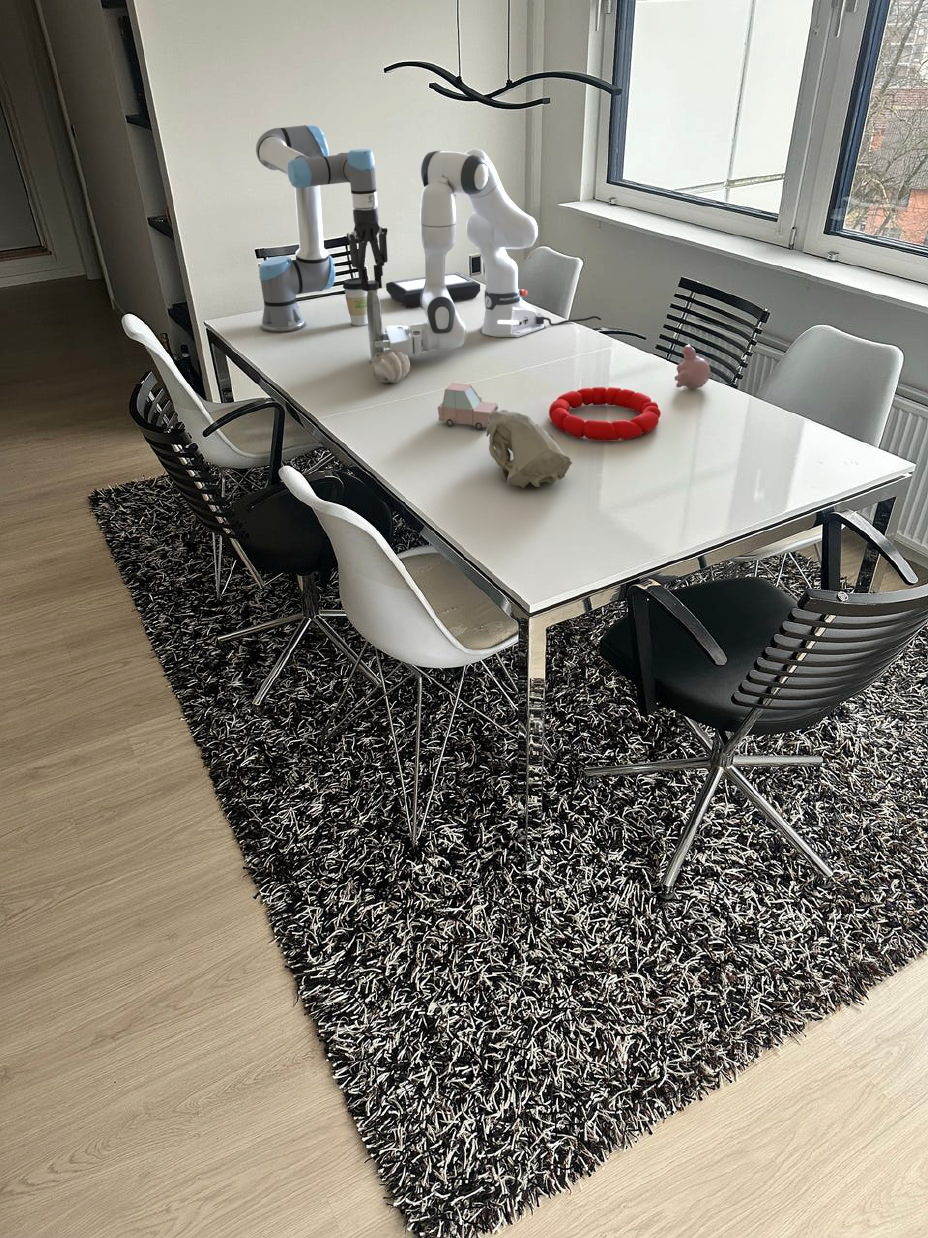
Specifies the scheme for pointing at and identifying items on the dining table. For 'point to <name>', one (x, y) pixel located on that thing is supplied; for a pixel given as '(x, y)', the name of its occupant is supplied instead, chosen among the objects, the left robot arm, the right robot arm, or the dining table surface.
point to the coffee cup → (356, 301)
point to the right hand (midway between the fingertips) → (373, 341)
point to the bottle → (374, 321)
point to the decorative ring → (604, 428)
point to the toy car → (465, 406)
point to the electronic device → (412, 288)
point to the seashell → (390, 366)
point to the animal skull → (525, 450)
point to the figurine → (692, 370)
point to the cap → (373, 285)
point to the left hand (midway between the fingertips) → (371, 288)
